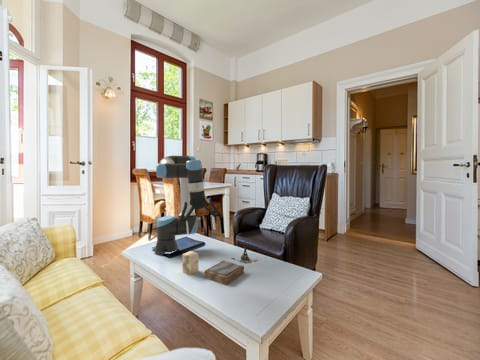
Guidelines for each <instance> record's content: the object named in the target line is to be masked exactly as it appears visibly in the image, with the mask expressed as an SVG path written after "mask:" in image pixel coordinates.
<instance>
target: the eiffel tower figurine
mask: <svg viewBox="0 0 480 360" xmlns="http://www.w3.org/2000/svg"><path fill="white" fill-rule="evenodd" d="M243 249H244V250H243V253H242V255H241V256H240V260H236V259H235V258H234V257H231V260H234V261H237V262H239V263H243V264H245V265H246V264H252V263H253V262H254V263H256V262H258V259H256V260H250V258H249V255H248V253H247V252H248V251H247V240H246V239H245V240H244V248H243Z"/></svg>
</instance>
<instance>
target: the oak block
mask: <svg viewBox="0 0 480 360" xmlns="http://www.w3.org/2000/svg"><path fill="white" fill-rule="evenodd" d="M197 272H199V252H195V251H193V250H189V251H187V252H185V253H182V273H184V274H187V275H189V276H192V275H194V274H196V273H197Z"/></svg>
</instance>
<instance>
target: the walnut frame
mask: <svg viewBox="0 0 480 360" xmlns="http://www.w3.org/2000/svg"><path fill="white" fill-rule="evenodd" d="M244 273H245V266H244V265H241V264H237V263H234V262H230V261H227V260H221V261H219V262H218V263H216V264H214V265H213V266H211V267H209V268H207V269H205V270H204V278H205V279H208V280H211V281H213V282H217V283H219V284H222V285H224V286H228V285H229V284H230V283H232V282H233V281H235V280H236V279H238V278H239V277H240V276H242V275H243V274H244Z"/></svg>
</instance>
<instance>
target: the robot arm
mask: <svg viewBox="0 0 480 360" xmlns="http://www.w3.org/2000/svg"><path fill="white" fill-rule="evenodd" d="M155 168H156V170H155V171H156V175H155V176H156V177H157V178H158V179H180V183H179V184H180V186H179V187H180V213H179V214H178V217H176V216H175V215H165V216H162V217H159V218H158V219H157V222H156V223H157V224H156V230H157V231H156V233H157V234H156V235H157V236H156V240H157V241H156V243H155V248H154V254H155V255H158V256H164V255H163V253H165V252H172V251H175V250H177V249H178V250H179V245H178V243H177V240H176V236H183V235H185V236H186V235H195V234H196V233H197V231H198V228H199V217H198V216H197V215H196V213H195V212H194V210H202V209H205V210H206V211H207V212H208V213H210V215H212V216H211V220H212V221H211V222H212V229H213V230H216V229H217V228H216V223H217V222H218V220H217V217H218V216H220V212H219V210H218V209H217V207H216V206H215V204H214V203H213V200H212V198H211V197H209V198H206V194H205V193H206V192H205V185H204V184H205V183H204V175H203V165H202V161H201V160H200V159H197V158H196V157H195V156H192V155H169V156H165V157H163V158H161V160H160V161H159V163H157V164H156V167H155ZM207 203H208V204H210V206H211V208H212V209H213V210H211V209H210V208H209V207H208V206H207V205H206V204H207ZM213 211H214V212H215V213H214V212H213Z"/></svg>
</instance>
